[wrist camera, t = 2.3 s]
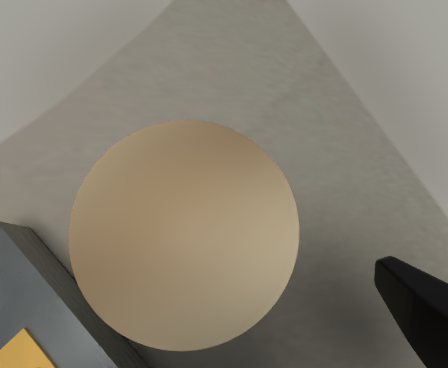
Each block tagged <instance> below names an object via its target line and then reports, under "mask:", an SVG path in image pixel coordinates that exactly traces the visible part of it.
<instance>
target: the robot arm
mask: <svg viewBox="0 0 448 368" xmlns="http://www.w3.org/2000/svg"><path fill="white" fill-rule="evenodd" d="M374 281H375V285H376V288H377V290H378V291H379V293H380V295H381V297H382V298H383V300H384V302H385V304H386V305H387V307H388V309H389V310H390V312H391V314H392V316H393V317H394V319H395V321H396V322H397V324H398V326H399V328H400V329H401V331H402V333H403V334H404V336H405V338H406V339H407V341H408V342H409V344H410V345H411V347H412V348H413V350H414V351H415V352H416V354H417V355H418V356H419V358H420V359H421V361H422V362H423V363H424V365H425V366H426V368H448V283H446V282H444V281H442V280H440V279H438V278H436V277H434V276H432V275H430V274H428V273H426V272H424V271H422V270H419V269H417V268H415V267H413V266H411V265H409V264H407V263H405V262H403V261H401V260H399V259H397V258H395V257H392V256H387V257H384V258H381V259H378V260H377V261H376V262H375V276H374ZM38 368H39V367H38Z"/></svg>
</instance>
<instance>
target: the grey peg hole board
mask: <svg viewBox="0 0 448 368" xmlns="http://www.w3.org/2000/svg"><path fill="white" fill-rule="evenodd" d="M38 367H39V368H149V367H148V366H147V365H146V364H145V362H144V361H143V360H142V359H141V358H140V357H139V355H138V354H137V353H136V352H135V351H134V350H133V348H132V347H131V346H130V345H129V344H128V342H127V341H126V340H125V339H124V338H123V337H122V335H121V334H120V333H118V332H117V331H115V330H114V329H113V328H112V327H110V326H109V325H108V324H106V323H105V322H104V321H103V320H102V319H101V318H100V317H99V316H98V315H97V314H96V313H95V311H94V310H93V309H92V307H91V306H90V305H89V303H88V302H87V301H86V299H85V297H84V295H83V294H82V292H81V290H80V288H79V286H78V284H77V283H76V281H75V280H74V279H73V278H72V277H71V276H70V274H69V273H68V272H67V271H66V270H65V268H64V267H63V266H62V265H61V264H60V263H59V261H58V260H57V259H56V258H55V257H54V256H53V254H52V253H51V252H50V251H49V250H48V248H47V247H46V246H45V245H44V244H43V243H42V241H41V240H40V239H39V238H38V237H37V236H36V234H35V233H34V232H33V231H32V230H31V229H30V228H27V227H22V226H18V225H13V224H9V223H5V222H0V368H38Z"/></svg>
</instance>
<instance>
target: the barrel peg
mask: <svg viewBox="0 0 448 368" xmlns="http://www.w3.org/2000/svg"><path fill="white" fill-rule="evenodd" d="M68 244H69V256H70V260H71V265H72V270H73V273H74V275H75V278H76V281H77V284H78V286H79V288H80V290H81V292H82V294H83V295H84V297H85V299H86V301H87V302H88V303H89V305H90V306H91V307H92V309H93V310H94V311H95V313H96V314H97V315H98V316H99V317H100V318H101V319H102V320H103V321H104V322H105V323H106V324H108V325H109V326H110V327H112V328H113V329H114V330H115V331H117V332H118V333H120V334H121V335H123V336H125V337H127V338H129V339H130V340H132V341H135V342H137V343H140V344H143V345H145V346H148V347H152V348H157V349H161V350H170V351H192V350H200V349H204V348H209V347H213V346H216V345H219V344H222V343H224V342H227V341H229V340H231V339H233V338H235V337H237V336H239V335H241V334H243V333H244V332H245V331H247V330H248V329H250V328H251V327H252V326H254V325H255V324H256V323H257V322H259V321H260V320H261V319H262V318H263V317H264V316H265V315H266V314H267V313H268V312H269V311H270V309H271V308H272V307H273V306H274V304H275V303H276V302H277V301H278V299H279V297H280V296H281V294H282V292H283V291H284V289H285V288H286V286H287V283H288V281H289V279H290V276H291V274H292V272H293V268H294V265H295V261H296V258H297V252H298V245H299V220H298V211H297V207H296V203H295V199H294V196H293V194H292V191H291V188H290V186H289V184H288V182H287V180H286V178H285V176H284V174H283V173H282V171H281V170H280V168H279V167H278V165H277V164H276V163H275V161H274V160H273V159H272V158H271V157H270V156H269V155H268V154H267V153H266V152H265V150H264V149H262V148H261V147H260V146H259V145H257V144H256V143H255V142H254V141H252V140H251V139H249V138H248V137H246V136H244V135H243V134H241V133H239V132H237V131H235V130H233V129H231V128H228V127H225V126H222V125H219V124H216V123H211V122H206V121H199V120H174V121H168V122H163V123H158V124H155V125H152V126H148V127H146V128H143V129H141V130H139V131H136V132H134V133H132V134H131V135H129V136H127V137H125V138H124V139H122V140H121V141H119V142H118V143H117V144H115V145H114V146H113V147H111V148H110V149H109V150H108V151H107V152H106V153H105V154H104V155H103V156H102V157H101V158H100V159H99V160H98V161H97V162H96V164H95V165H94V166H93V167H92V169H91V170H90V171H89V173H88V175H87V176H86V178H85V179H84V181H83V183H82V185H81V187H80V189H79V191H78V193H77V196H76V199H75V202H74V205H73V208H72V212H71V217H70V223H69V235H68Z"/></svg>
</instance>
